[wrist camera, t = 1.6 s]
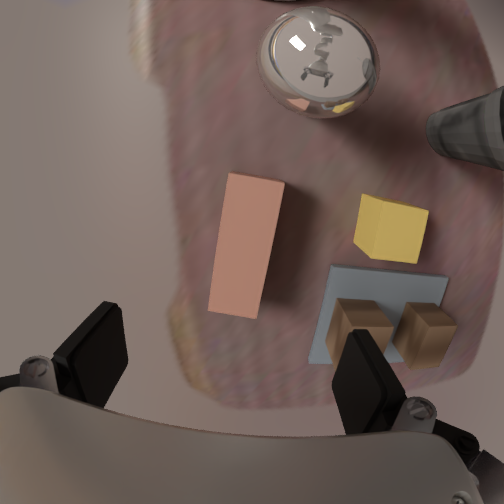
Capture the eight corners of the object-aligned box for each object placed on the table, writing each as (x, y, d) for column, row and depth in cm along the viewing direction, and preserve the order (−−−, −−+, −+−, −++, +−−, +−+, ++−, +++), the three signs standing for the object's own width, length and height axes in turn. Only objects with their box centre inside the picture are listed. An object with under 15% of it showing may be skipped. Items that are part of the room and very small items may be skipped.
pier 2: (406, 301, 26) (429, 326, 21) (434, 302, 26) (458, 325, 21) (391, 341, 27) (409, 369, 22) (419, 341, 27) (438, 366, 23)
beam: (233, 171, 23) (228, 173, 19) (280, 179, 23) (284, 183, 20) (214, 289, 27) (207, 310, 23) (256, 296, 27) (256, 318, 23)
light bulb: (240, 107, 21) (226, 56, 10) (280, 45, 19) (299, -34, 8) (313, 148, 22) (367, 137, 11) (350, 85, 20) (419, 37, 9)
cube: (361, 193, 23) (382, 200, 19) (403, 201, 23) (428, 210, 19) (352, 241, 25) (371, 258, 20) (394, 247, 25) (416, 263, 21)
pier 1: (336, 297, 25) (352, 326, 21) (373, 300, 26) (394, 327, 21) (324, 341, 27) (335, 373, 22) (360, 342, 27) (375, 372, 22)
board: (331, 263, 25) (333, 267, 25) (445, 275, 26) (448, 278, 25) (308, 358, 29) (309, 363, 28) (413, 357, 29) (416, 360, 28)
